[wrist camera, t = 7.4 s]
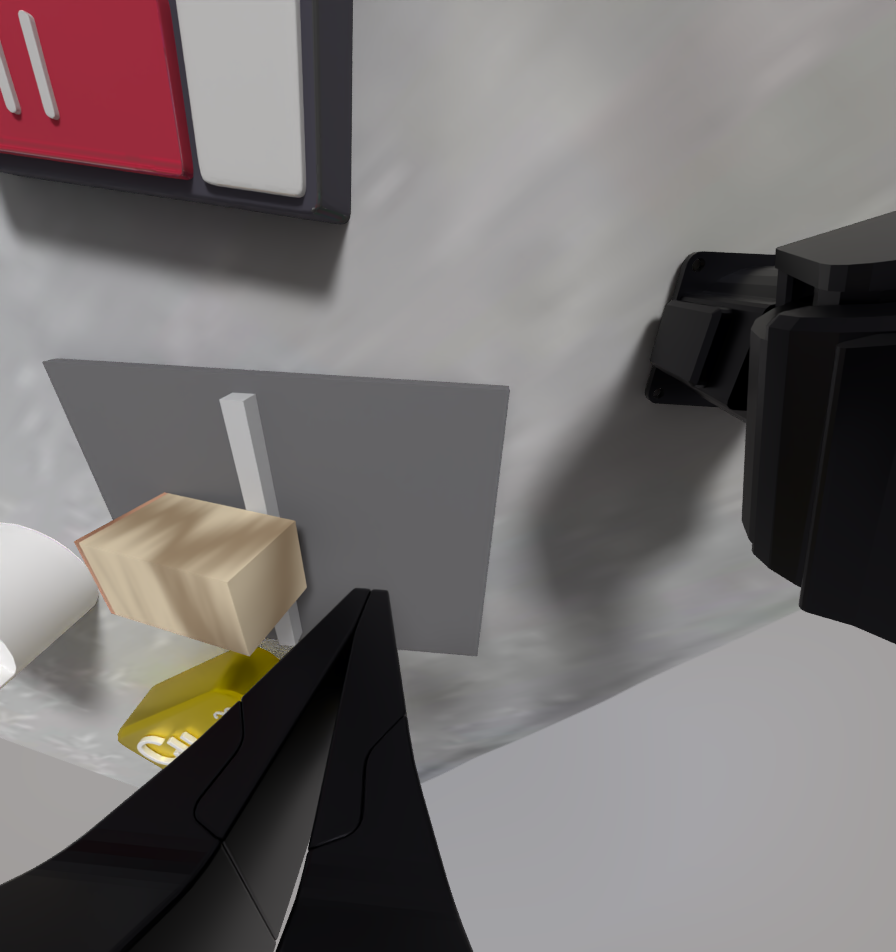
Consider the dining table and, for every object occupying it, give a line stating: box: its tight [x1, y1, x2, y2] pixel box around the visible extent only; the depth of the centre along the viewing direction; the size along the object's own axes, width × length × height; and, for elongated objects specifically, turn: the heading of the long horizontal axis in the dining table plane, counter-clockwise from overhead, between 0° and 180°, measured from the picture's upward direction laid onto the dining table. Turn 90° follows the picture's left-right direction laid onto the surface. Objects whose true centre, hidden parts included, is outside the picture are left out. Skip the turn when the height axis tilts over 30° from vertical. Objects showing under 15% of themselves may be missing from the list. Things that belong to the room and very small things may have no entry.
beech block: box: [74, 492, 307, 656], centre depth 21 cm, size 5×5×9 cm
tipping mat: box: [43, 359, 510, 656], centre depth 24 cm, size 24×20×2 cm
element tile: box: [118, 647, 280, 769], centre depth 34 cm, size 15×15×5 cm
